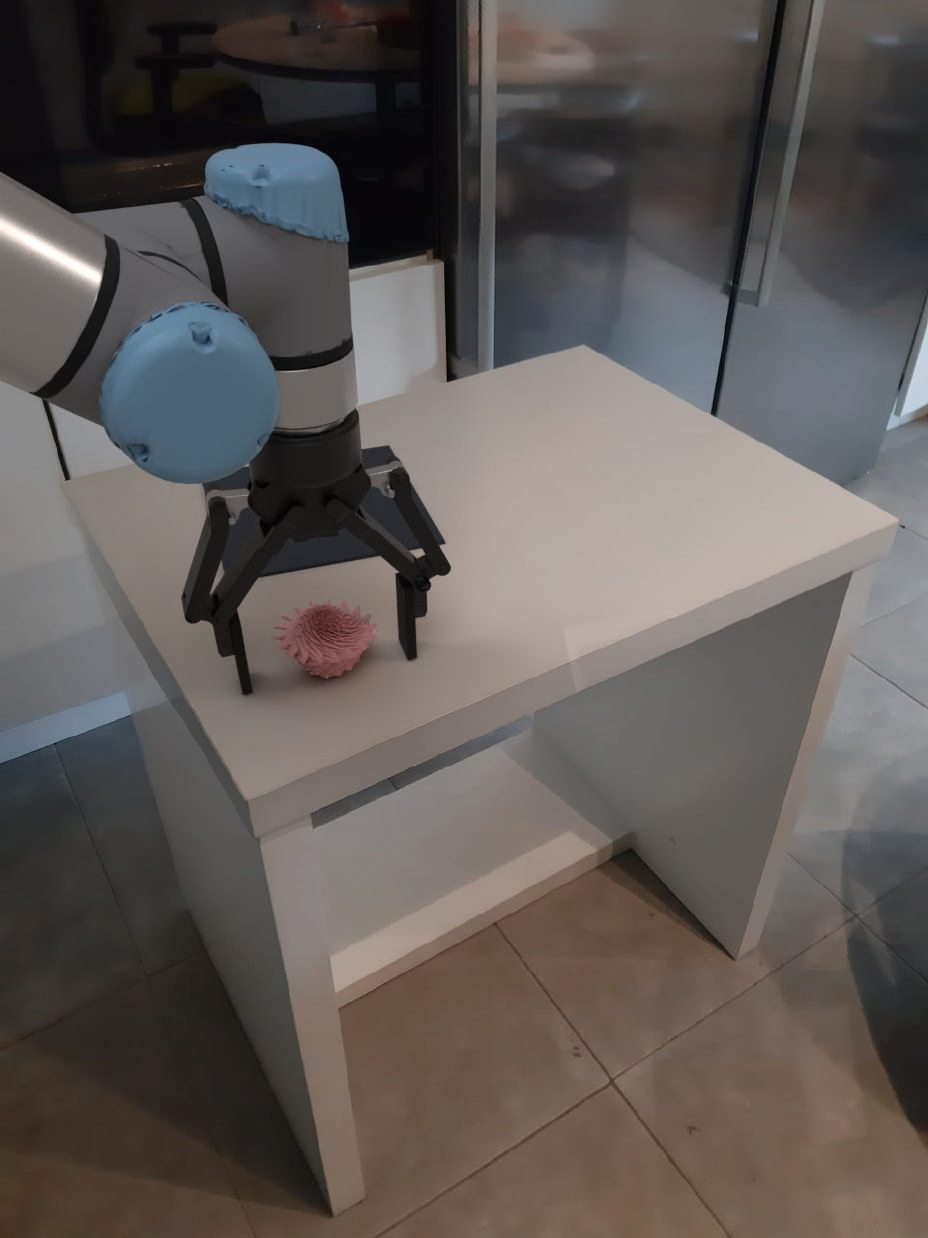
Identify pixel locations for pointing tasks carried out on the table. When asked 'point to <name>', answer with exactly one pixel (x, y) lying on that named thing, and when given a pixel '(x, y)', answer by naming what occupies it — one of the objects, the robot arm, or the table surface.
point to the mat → (326, 547)
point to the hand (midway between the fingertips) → (328, 665)
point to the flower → (326, 638)
